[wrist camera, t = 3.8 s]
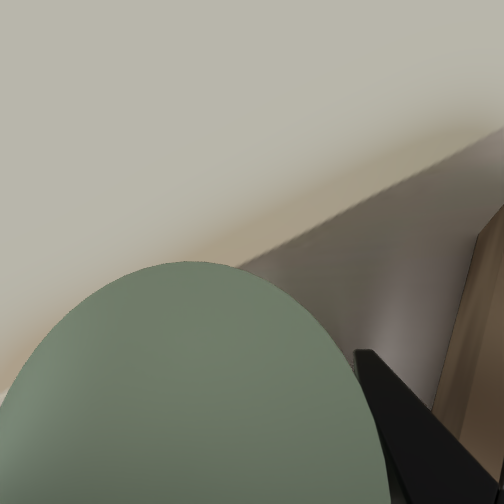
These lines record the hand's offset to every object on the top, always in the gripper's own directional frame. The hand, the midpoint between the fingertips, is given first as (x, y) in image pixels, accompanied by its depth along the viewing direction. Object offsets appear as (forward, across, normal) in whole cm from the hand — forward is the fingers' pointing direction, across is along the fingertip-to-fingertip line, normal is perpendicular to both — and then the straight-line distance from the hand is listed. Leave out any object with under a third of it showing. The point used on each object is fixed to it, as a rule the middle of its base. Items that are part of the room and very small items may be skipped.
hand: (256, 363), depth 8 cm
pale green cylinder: (+4, 0, +6) cm, 7 cm away
